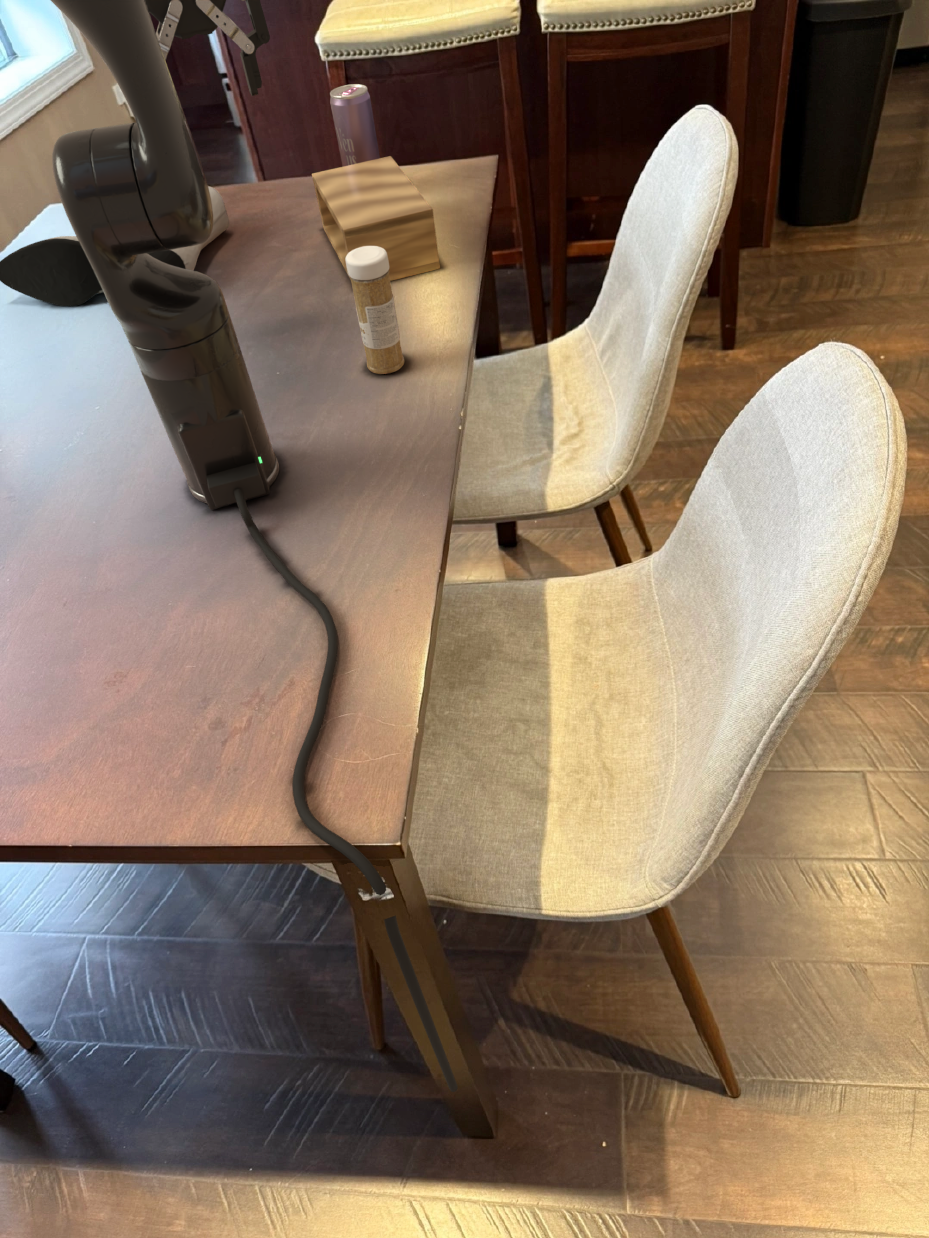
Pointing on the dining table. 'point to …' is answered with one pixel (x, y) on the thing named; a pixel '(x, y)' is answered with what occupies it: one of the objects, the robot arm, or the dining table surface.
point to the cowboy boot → (84, 264)
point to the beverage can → (354, 124)
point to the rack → (378, 215)
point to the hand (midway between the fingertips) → (215, 102)
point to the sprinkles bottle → (375, 308)
